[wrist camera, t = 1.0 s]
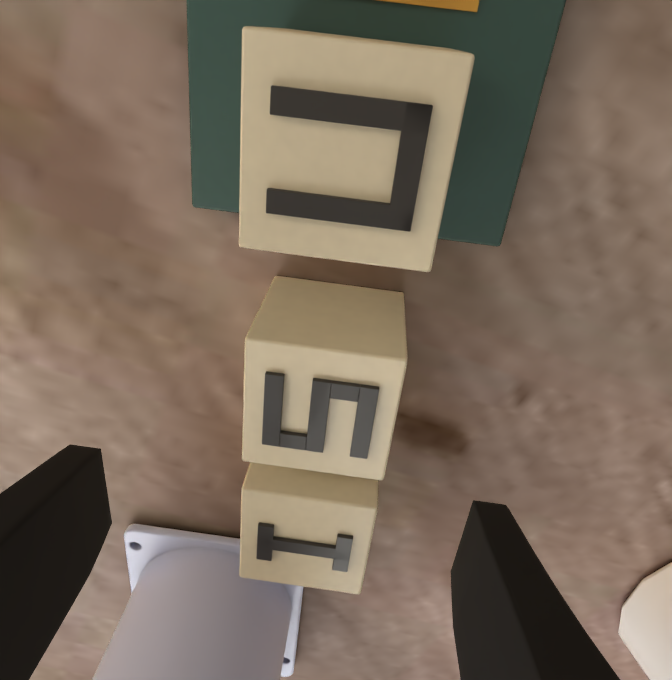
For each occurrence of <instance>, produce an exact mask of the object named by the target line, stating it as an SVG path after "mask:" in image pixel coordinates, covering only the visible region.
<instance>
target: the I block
mask: <svg viewBox="0 0 672 680" xmlns="http://www.w3.org/2000/svg"><path fill="white" fill-rule="evenodd" d="M378 486H379V480H374V479H367V478H360V477H353V476H346V475H339V474H332V473H325V472H317V471H310V470H303V469H296V468H289V467H282V466H275V465H268V464H260V463H253V462H250V464H249V467H248V470H247V473H246V477H245V480H244V483H243V486H242V489H241V526H240V568H239V575H240V577H242V578H249V579H255V580H262V581H269V582H276V583H283V584H290V585H297V586H303V587H310V588H317V589H324V590H331V591H338V592H345V593H351V594H360V593H361V590H362V585H363V580H364V575H365V570H366V565H367V560H368V555H369V550H370V545H371V540H372V535H373V530H374V525H375V521H376V516H377V511H378Z"/></svg>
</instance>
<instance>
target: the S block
mask: <svg viewBox="0 0 672 680" xmlns="http://www.w3.org/2000/svg"><path fill="white" fill-rule="evenodd" d="M407 362H408V358H407V340H406V321H405V302H404V293H402V292H396V291H388V290H380V289H373V288H365V287H358V286H350V285H343V284H335V283H327V282H320V281H312V280H305V279H297V278H290V277H282V276H275V277H274V279H273V281H272V283H271V285H270V287H269V290H268V292H267V294H266V296H265V298H264V300H263V302H262V304H261V306H260V308H259V310H258V313H257V315H256V317H255V319H254V321H253V323H252V325H251V327H250V329H249V331H248V334H247V336H246V338H245V350H244V393H243V436H242V460H243V461H246V462H253V463H260V464H268V465H275V466H282V467H289V468H296V469H303V470H310V471H317V472H325V473H332V474H339V475H346V476H353V477H360V478H367V479H374V480H383V479H384V476H385V471H386V466H387V461H388V456H389V451H390V446H391V441H392V437H393V432H394V427H395V422H396V417H397V412H398V407H399V402H400V397H401V392H402V387H403V382H404V377H405V372H406V367H407Z"/></svg>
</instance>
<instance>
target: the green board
mask: <svg viewBox="0 0 672 680" xmlns="http://www.w3.org/2000/svg"><path fill="white" fill-rule="evenodd" d="M565 3H566V0H187V33H188V68H189V104H190V139H191V174H192V204H193V206H194V207H197V208H205V209H212V210H220V211H228V212H236V213H239V195H240V130H241V66H242V29H243V27H245V26H255V27H271V28H286V29H294V30H302V31H311V32H319V33H327V34H336V35H344V36H352V37H360V38H369V39H377V40H385V41H393V42H402V43H410V44H418V45H427V46H435V47H443V48H451V49H455V50H459V51H464V52H468V53H472V54H473V55H474V57H475V60H474V64H473V69H472V74H471V79H470V84H469V89H468V94H467V98H466V103H465V108H464V113H463V118H462V123H461V127H460V132H459V137H458V142H457V147H456V152H455V157H454V161H453V166H452V171H451V176H450V181H449V186H448V190H447V195H446V200H445V205H444V210H443V215H442V219H441V224H440V229H439V234H438V239H444V240H452V241H460V242H467V243H475V244H483V245H491V246H500V244H501V241H502V237H503V234H504V230H505V226H506V222H507V219H508V215H509V211H510V208H511V204H512V200H513V196H514V193H515V189H516V185H517V182H518V178H519V174H520V170H521V167H522V163H523V159H524V155H525V152H526V148H527V144H528V141H529V137H530V133H531V129H532V126H533V122H534V118H535V114H536V111H537V107H538V103H539V100H540V96H541V92H542V88H543V85H544V81H545V77H546V74H547V70H548V66H549V62H550V59H551V55H552V51H553V47H554V44H555V40H556V36H557V33H558V29H559V25H560V21H561V18H562V14H563V10H564V7H565Z"/></svg>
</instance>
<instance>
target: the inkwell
mask: <svg viewBox="0 0 672 680" xmlns="http://www.w3.org/2000/svg"><path fill="white" fill-rule="evenodd" d="M618 634H619V635H620V637H621V639H622V640H623V642H624V643H625V645H626V647H627V648H628V650H629V651H630V653H631V655H632V656H633V658H634V659H635V660H636V662H637V663H638V665H639V666H640V668H641V669H642V671H643V672H644V673H645V675H646V676H647V678H648V679H649V680H672V562H671V563H669V564H668V565H666V566H664V567H663V568H661V569H659V570H657V571H656V572H654V573H652V574H651V575H649V576H647V577H646V578H644V579H642V581H641V582H640V583H639V585H638V586H637V587H636V588H635V590H634V591H633V592H632V593H631V595H630V596H629V597H628V599H627V600H626V601H625V602H624V604H623V606H622V611H621V618H620V626H619V633H618Z"/></svg>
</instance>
